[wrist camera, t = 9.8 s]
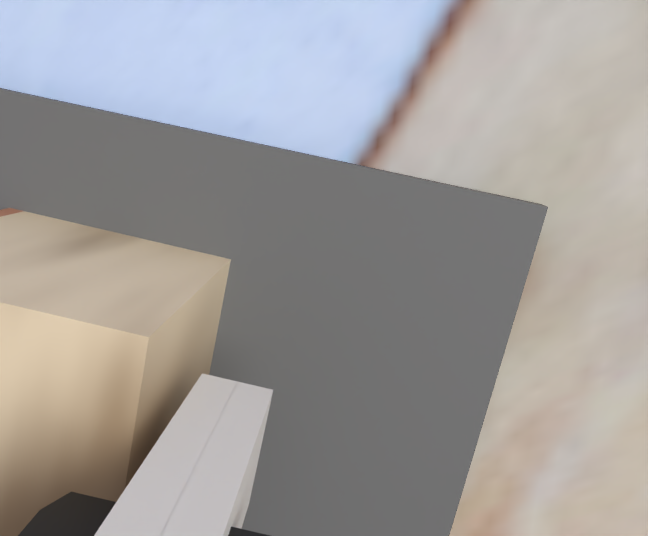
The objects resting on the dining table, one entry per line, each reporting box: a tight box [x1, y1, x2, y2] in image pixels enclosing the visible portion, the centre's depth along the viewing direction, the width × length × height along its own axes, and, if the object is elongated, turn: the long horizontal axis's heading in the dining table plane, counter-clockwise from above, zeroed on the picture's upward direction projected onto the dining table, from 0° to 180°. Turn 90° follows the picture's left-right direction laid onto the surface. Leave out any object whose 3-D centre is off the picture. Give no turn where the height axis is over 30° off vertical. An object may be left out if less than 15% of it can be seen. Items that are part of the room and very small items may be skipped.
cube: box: [0, 208, 231, 536], centre depth 13 cm, size 6×6×6 cm
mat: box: [0, 88, 548, 536], centre depth 16 cm, size 12×20×1 cm, turn 78°
